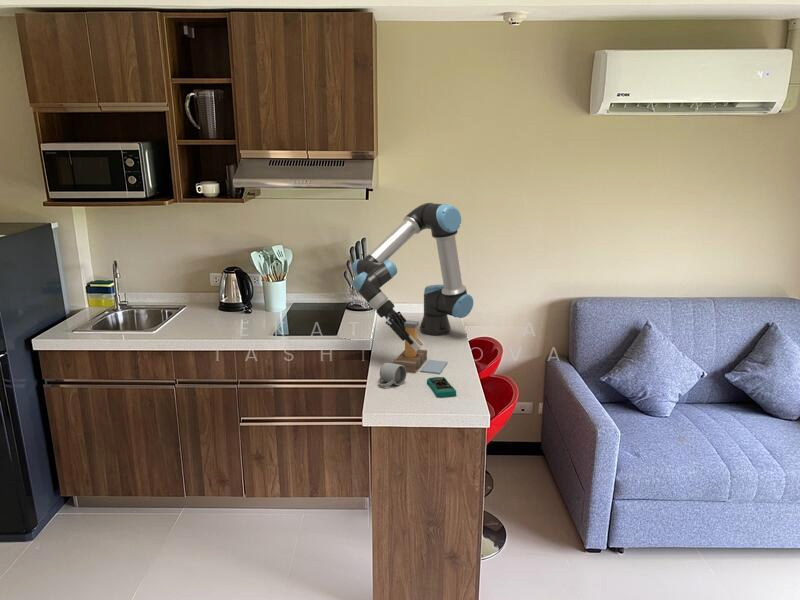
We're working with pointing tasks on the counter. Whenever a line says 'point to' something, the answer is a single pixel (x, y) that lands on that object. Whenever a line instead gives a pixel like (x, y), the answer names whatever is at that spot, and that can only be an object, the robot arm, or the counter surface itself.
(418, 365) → the wooden socket block
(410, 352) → the plug
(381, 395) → the counter surface
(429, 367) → the mat
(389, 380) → the ceramic mug
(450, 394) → the digital multimeter
